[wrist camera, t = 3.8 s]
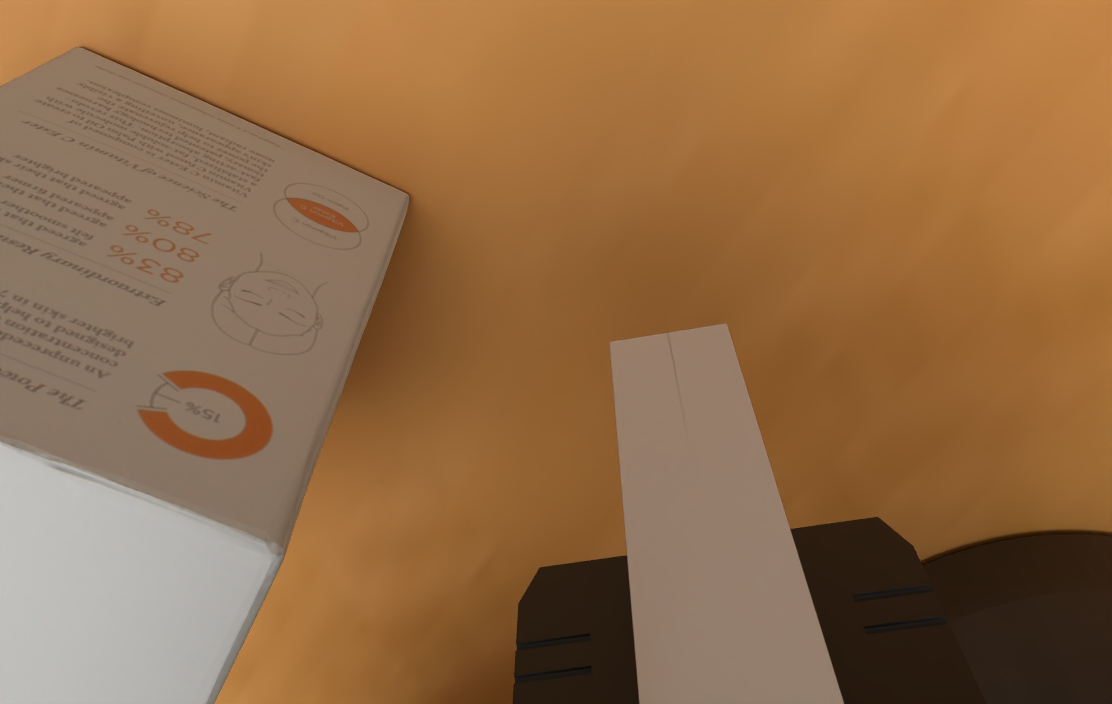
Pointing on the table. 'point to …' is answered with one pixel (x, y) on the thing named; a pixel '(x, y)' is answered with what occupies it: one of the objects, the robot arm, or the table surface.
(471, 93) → the table surface
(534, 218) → the table surface
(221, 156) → the small box
